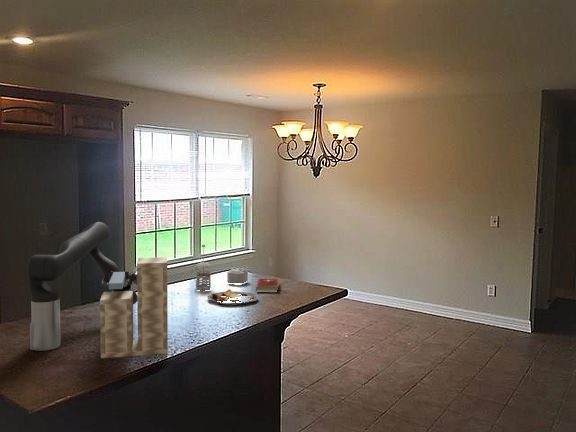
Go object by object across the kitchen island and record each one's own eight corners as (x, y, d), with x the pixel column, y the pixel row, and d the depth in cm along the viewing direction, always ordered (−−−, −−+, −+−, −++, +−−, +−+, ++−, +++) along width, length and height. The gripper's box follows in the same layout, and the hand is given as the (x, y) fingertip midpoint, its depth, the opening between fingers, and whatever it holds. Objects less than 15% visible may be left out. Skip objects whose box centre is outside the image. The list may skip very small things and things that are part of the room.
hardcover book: (256, 293, 270) (256, 285, 270) (258, 285, 291) (258, 278, 291) (278, 293, 270) (278, 286, 270) (278, 285, 291) (278, 278, 291)
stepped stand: (100, 358, 170) (99, 264, 168) (104, 346, 181) (103, 258, 179) (167, 353, 175) (167, 262, 173) (167, 342, 187) (166, 257, 185)
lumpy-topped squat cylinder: (225, 284, 290) (225, 269, 290) (236, 280, 302) (236, 266, 302) (240, 286, 286) (241, 271, 285) (251, 282, 298) (251, 267, 297)
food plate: (198, 299, 252) (198, 292, 252) (233, 293, 269) (233, 286, 269) (231, 310, 235) (231, 303, 235) (266, 302, 252) (266, 295, 252)
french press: (210, 292, 270) (211, 245, 268) (189, 291, 270) (189, 245, 268) (213, 288, 280) (214, 243, 278) (193, 287, 280) (193, 243, 278)
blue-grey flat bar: (108, 289, 169) (108, 283, 169) (113, 277, 188) (113, 272, 188) (122, 288, 170) (122, 283, 170) (126, 276, 189) (125, 271, 189)
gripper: (103, 279, 198) (98, 264, 183) (140, 278, 202) (139, 263, 187) (102, 297, 195) (97, 284, 180) (140, 296, 199) (139, 282, 184)
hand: (118, 273), depth 183 cm, fingers closed on blue-grey flat bar, 4 cm apart
